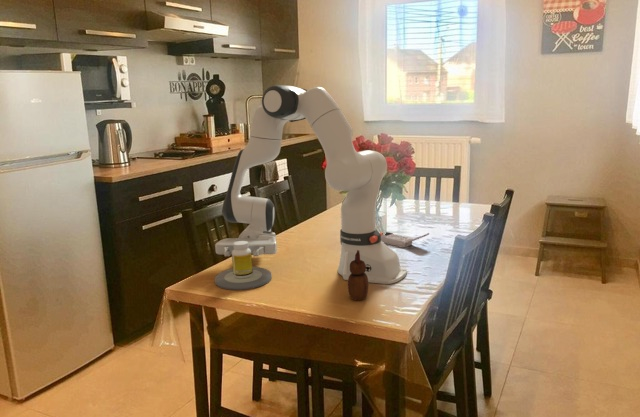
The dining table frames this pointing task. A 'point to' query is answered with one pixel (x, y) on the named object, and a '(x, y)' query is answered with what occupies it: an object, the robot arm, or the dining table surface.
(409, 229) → the dining table surface
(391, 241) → the grey brush
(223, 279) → the plate
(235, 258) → the pill bottle
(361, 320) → the dining table surface
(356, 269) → the brown squeeze bottle
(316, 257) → the dining table surface
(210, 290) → the dining table surface
